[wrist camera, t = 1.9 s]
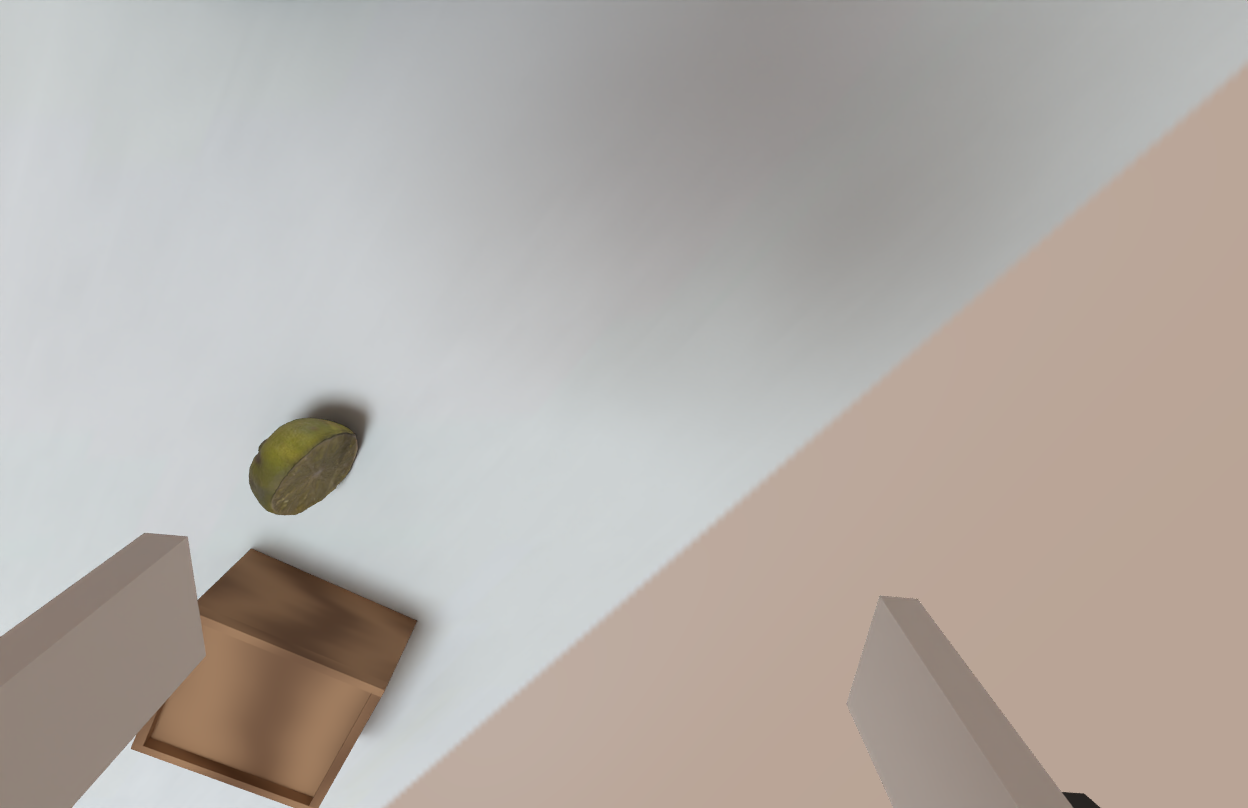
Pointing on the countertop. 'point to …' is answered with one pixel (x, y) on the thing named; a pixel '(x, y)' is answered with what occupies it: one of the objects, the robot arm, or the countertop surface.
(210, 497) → the countertop surface
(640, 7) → the countertop surface
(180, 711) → the walnut tray
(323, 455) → the lime
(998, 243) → the countertop surface
